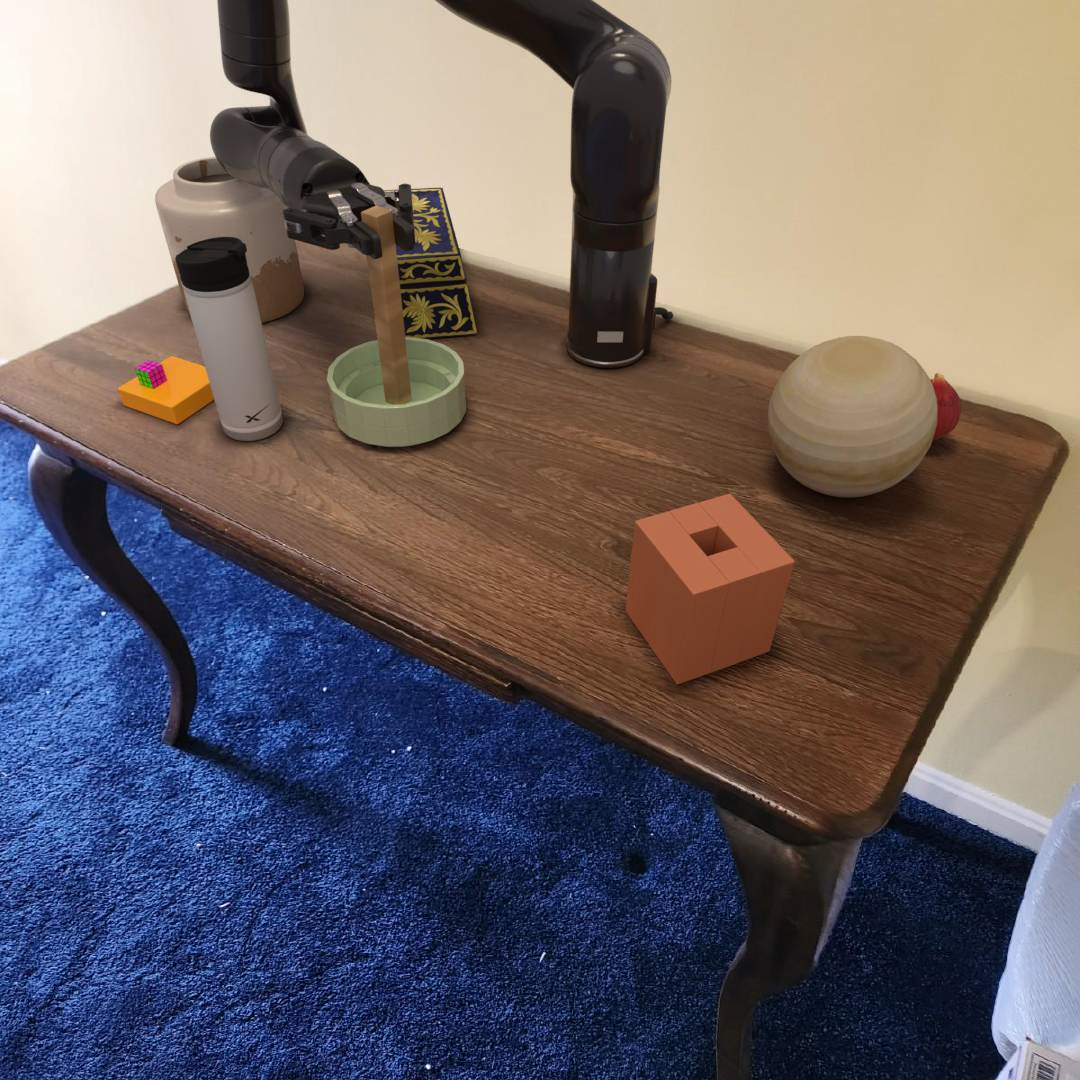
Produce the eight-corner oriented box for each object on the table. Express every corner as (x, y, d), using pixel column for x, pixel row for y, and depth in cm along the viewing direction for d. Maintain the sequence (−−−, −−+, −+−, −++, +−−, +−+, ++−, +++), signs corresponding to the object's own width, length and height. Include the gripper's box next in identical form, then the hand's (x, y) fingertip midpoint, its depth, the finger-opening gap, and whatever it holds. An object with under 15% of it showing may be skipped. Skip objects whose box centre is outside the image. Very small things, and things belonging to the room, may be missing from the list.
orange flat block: (176, 372, 100) (166, 339, 97) (229, 389, 97) (220, 356, 94) (123, 405, 95) (110, 372, 92) (177, 425, 92) (166, 390, 89)
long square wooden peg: (412, 399, 91) (392, 210, 77) (399, 408, 89) (376, 217, 76) (398, 393, 91) (376, 205, 78) (385, 401, 90) (360, 211, 77)
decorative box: (390, 342, 105) (382, 272, 99) (379, 243, 127) (372, 181, 121) (477, 335, 107) (474, 266, 101) (452, 239, 129) (448, 177, 123)
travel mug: (271, 446, 89) (226, 261, 76) (212, 438, 90) (158, 254, 77) (296, 413, 94) (257, 233, 80) (239, 406, 95) (192, 227, 81)
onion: (950, 433, 92) (976, 367, 87) (944, 462, 88) (971, 395, 83) (894, 420, 94) (916, 355, 88) (886, 448, 90) (908, 381, 85)
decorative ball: (943, 504, 83) (1000, 368, 73) (818, 547, 78) (861, 408, 68) (841, 424, 93) (878, 295, 83) (725, 458, 88) (750, 325, 78)
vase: (290, 328, 108) (263, 193, 97) (169, 326, 108) (127, 191, 97) (315, 275, 119) (293, 149, 108) (206, 273, 119) (172, 147, 108)
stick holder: (712, 582, 75) (730, 492, 68) (769, 651, 69) (795, 561, 62) (624, 610, 72) (634, 520, 65) (676, 685, 66) (693, 594, 60)
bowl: (442, 370, 101) (438, 327, 97) (485, 434, 91) (483, 389, 87) (321, 395, 96) (313, 352, 93) (353, 465, 87) (346, 420, 83)
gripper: (242, 159, 82) (313, 218, 71) (375, 134, 88) (460, 186, 77) (259, 236, 87) (327, 302, 76) (384, 208, 93) (464, 266, 82)
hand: (393, 243), depth 77 cm, fingers closed on long square wooden peg, 2 cm apart
